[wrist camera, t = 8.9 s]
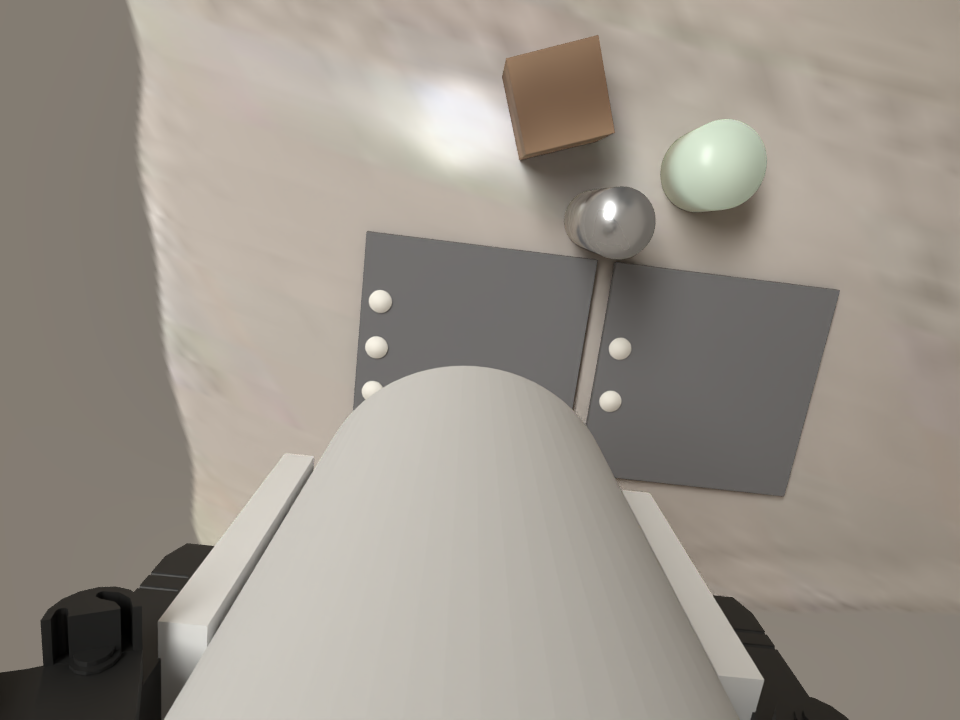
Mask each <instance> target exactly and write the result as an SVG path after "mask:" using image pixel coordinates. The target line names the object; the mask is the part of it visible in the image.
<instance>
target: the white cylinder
mask: <svg viewBox="0 0 960 720" xmlns="http://www.w3.org/2000/svg"><path fill="white" fill-rule="evenodd" d="M164 720H740V719H739V717H738V715H737V713H736V711H735V709H734V707H733V705H732V703H731V701H730V699H729V697H728V695H727V694H726V692H725V690H724V688H723V686H722V684H721V682H720V680H719V678H718V676H717V674H716V672H715V670H714V668H713V666H712V665H711V663H710V661H709V659H708V657H707V655H706V653H705V651H704V649H703V647H702V645H701V643H700V641H699V639H698V638H697V636H696V634H695V632H694V630H693V628H692V626H691V624H690V622H689V620H688V618H687V616H686V614H685V612H684V610H683V609H682V607H681V605H680V603H679V601H678V599H677V597H676V595H675V593H674V591H673V589H672V587H671V585H670V583H669V582H668V580H667V578H666V576H665V574H664V572H663V570H662V568H661V566H660V564H659V562H658V560H657V558H656V556H655V555H654V553H653V551H652V549H651V547H650V545H649V543H648V541H647V539H646V537H645V535H644V533H643V531H642V529H641V527H640V526H639V524H638V522H637V520H636V518H635V516H634V514H633V512H632V510H631V508H630V506H629V504H628V502H627V500H626V499H625V497H624V495H623V493H622V491H621V489H620V487H619V485H618V483H617V481H616V479H615V477H614V475H613V473H612V471H611V470H610V468H609V466H608V464H607V462H606V460H605V458H604V456H603V454H602V452H601V450H600V448H599V446H598V445H597V443H596V441H595V439H594V437H593V435H592V434H591V432H590V431H589V429H588V428H587V426H586V425H585V424H584V422H583V421H582V420H581V419H580V417H579V416H578V415H577V414H576V413H575V412H574V411H573V410H572V409H571V408H570V407H569V406H568V405H567V404H566V403H565V402H564V401H562V400H561V399H560V398H558V397H557V396H556V395H555V394H553V393H552V392H550V391H548V390H547V389H545V388H544V387H542V386H540V385H538V384H537V383H535V382H533V381H530V380H528V379H526V378H524V377H521V376H518V375H516V374H513V373H509V372H506V371H502V370H498V369H493V368H487V367H478V366H448V367H440V368H434V369H429V370H425V371H421V372H417V373H414V374H411V375H409V376H406V377H403V378H401V379H399V380H397V381H394V382H392V383H390V384H389V385H387V386H385V387H383V388H381V389H380V390H378V391H377V392H375V393H374V394H372V395H371V396H370V397H369V398H367V399H366V400H365V401H363V402H362V403H361V404H360V405H359V406H358V407H357V408H356V409H355V410H354V411H353V412H352V413H351V414H350V415H349V416H348V417H347V419H346V420H345V421H344V422H343V424H342V425H341V426H340V428H339V429H338V431H337V432H336V434H335V435H334V437H333V439H332V440H331V442H330V444H329V445H328V447H327V449H326V450H325V452H324V454H323V455H322V457H321V459H320V460H319V462H318V464H317V465H316V467H315V469H314V470H313V472H312V474H311V475H310V477H309V479H308V480H307V482H306V484H305V485H304V487H303V489H302V490H301V492H300V494H299V495H298V497H297V499H296V500H295V502H294V504H293V505H292V507H291V509H290V510H289V512H288V514H287V515H286V517H285V519H284V520H283V522H282V524H281V525H280V527H279V529H278V530H277V532H276V534H275V535H274V537H273V539H272V540H271V542H270V544H269V545H268V547H267V549H266V550H265V552H264V554H263V555H262V557H261V559H260V560H259V562H258V564H257V565H256V567H255V569H254V570H253V572H252V574H251V575H250V577H249V579H248V580H247V582H246V584H245V585H244V587H243V589H242V590H241V592H240V594H239V595H238V597H237V599H236V600H235V602H234V604H233V605H232V607H231V609H230V610H229V612H228V613H227V615H226V617H225V618H224V620H223V622H222V623H221V625H220V627H219V628H218V630H217V632H216V633H215V635H214V637H213V638H212V640H211V642H210V643H209V645H208V647H207V648H206V650H205V652H204V653H203V655H202V657H201V658H200V660H199V662H198V663H197V665H196V667H195V668H194V670H193V672H192V673H191V675H190V677H189V678H188V680H187V682H186V683H185V685H184V687H183V688H182V690H181V692H180V693H179V695H178V697H177V698H176V700H175V702H174V703H173V705H172V707H171V708H170V710H169V712H168V713H167V715H166V717H165V718H164Z"/></svg>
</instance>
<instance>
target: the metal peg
mask: <svg viewBox="0 0 960 720" xmlns="http://www.w3.org/2000/svg"><path fill="white" fill-rule="evenodd" d="M564 225H565V230H566V232H567V235H568V236H569V238H570V239H571V240H572V241H573V242H574V243H575V244H577V245H578V246H580V247H582V248H585V249H587V250H590V251H592V252H595V253H597V254H599V255H602V256H604V257H607V258H610V259H626V258H629V257H632V256H634V255H636V254H638V253H639V252H640V251H642V250H643V249H644V248H645V247H646V246H647V244H648V243H649V242H650V240H651V238H652V236H653V233H654V229H655V212H654V209H653V207H652V204H651V203H650V201H649V200H648V198H647V197H646V196H645V195H644V194H642V193H641V192H640V191H638V190H636V189H633V188H630V187H612V188H603V189H594V190H588V191H584V192H582V193H580V194H578V195H577V196H576V197H575V198H573V199H572V201H571V202H570V203H569V205H568V207H567V209H566V212H565V216H564Z"/></svg>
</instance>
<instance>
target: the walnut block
mask: <svg viewBox="0 0 960 720" xmlns="http://www.w3.org/2000/svg"><path fill="white" fill-rule="evenodd" d="M502 79H503V83H504V88H505V93H506V98H507V103H508V107H509V112H510V117H511V122H512V127H513V131H514V136H515V141H516V146H517V151H518V155H519V160H523V159H527V158H531V157H535V156H539V155H543V154H548V153H552V152H556V151H560V150H564V149H568V148H572V147H576V146H580V145H584V144H588V143H592V142H596V141H599V140H601V139H603V138H605V137H607V136H609V135H611V134H613V133H615V131H614V125H613V119H612V113H611V108H610V102H609V96H608V90H607V84H606V78H605V72H604V66H603V60H602V54H601V48H600V42H599V36H598V35H597V36H593V37H589V38H585V39H581V40H577V41H573V42H569V43H565V44H561V45H557V46H553V47H549V48H545V49H541V50H538V51H534V52H530V53H526V54H522V55H518V56H514V57H510V58H506V62H505V66H504V71H503V75H502Z"/></svg>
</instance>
